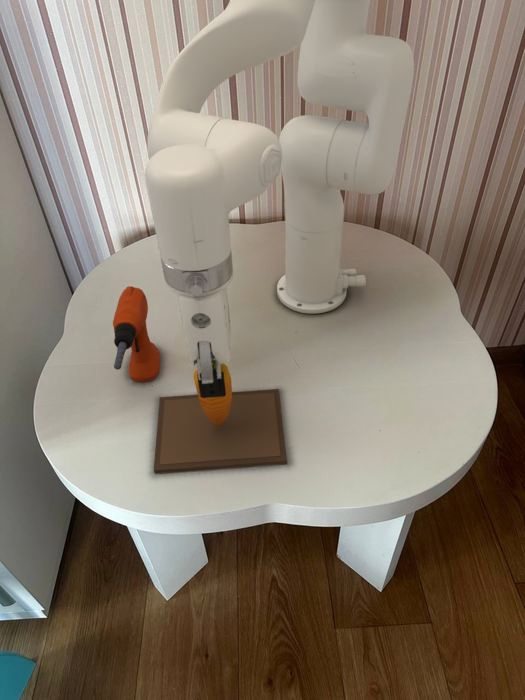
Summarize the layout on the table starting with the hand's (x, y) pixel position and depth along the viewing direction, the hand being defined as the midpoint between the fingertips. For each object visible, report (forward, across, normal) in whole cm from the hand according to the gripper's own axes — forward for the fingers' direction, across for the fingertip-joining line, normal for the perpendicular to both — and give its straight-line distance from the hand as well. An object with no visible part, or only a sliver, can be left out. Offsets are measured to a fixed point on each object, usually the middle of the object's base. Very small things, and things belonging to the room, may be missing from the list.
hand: (213, 377), depth 73 cm
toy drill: (+11, +10, +12) cm, 19 cm away
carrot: (+10, 0, 0) cm, 10 cm away
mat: (+11, 0, 0) cm, 11 cm away
